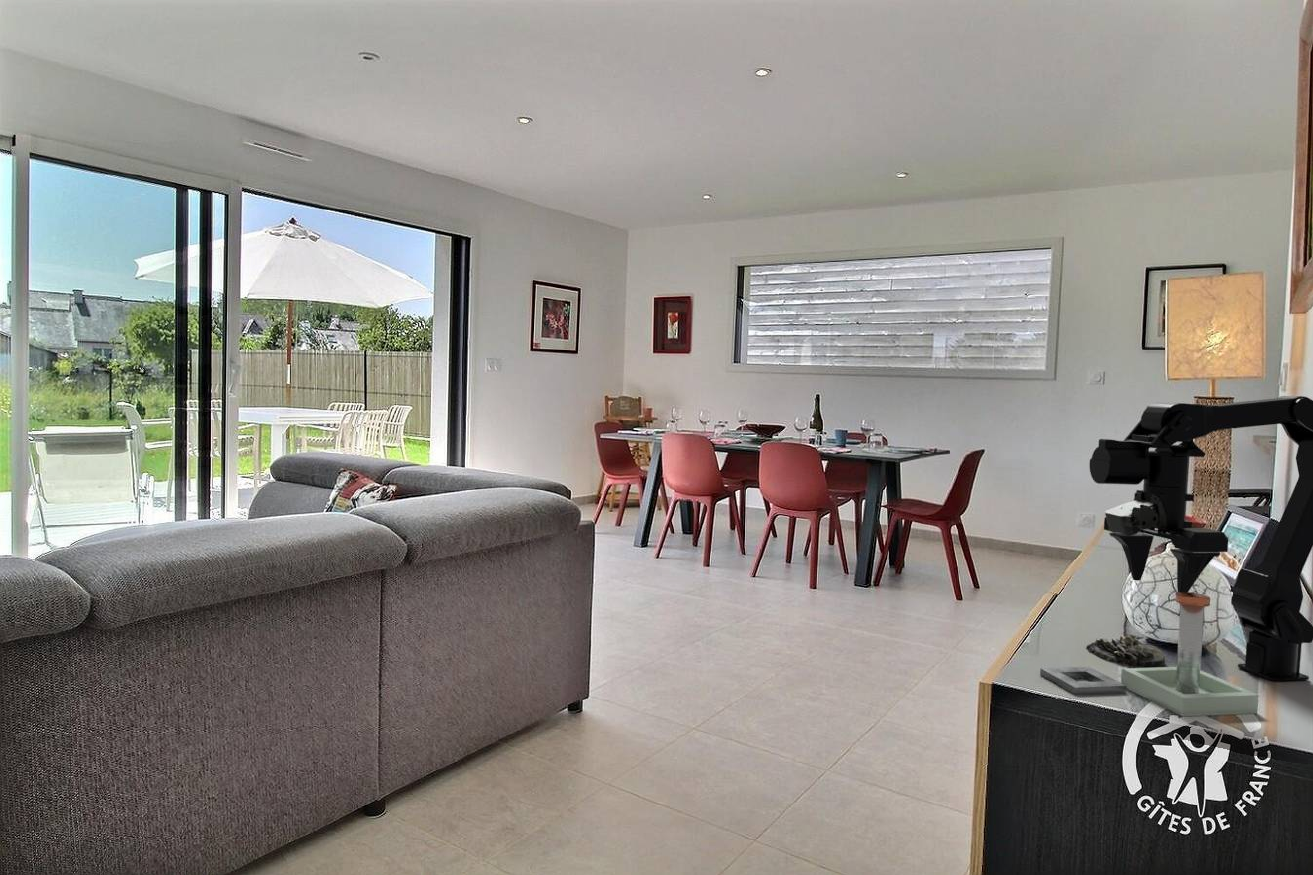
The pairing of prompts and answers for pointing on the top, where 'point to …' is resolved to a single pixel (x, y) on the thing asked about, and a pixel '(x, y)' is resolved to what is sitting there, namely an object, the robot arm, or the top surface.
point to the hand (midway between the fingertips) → (1158, 587)
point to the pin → (1190, 641)
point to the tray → (1209, 701)
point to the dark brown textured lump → (1127, 652)
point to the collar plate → (1097, 685)
